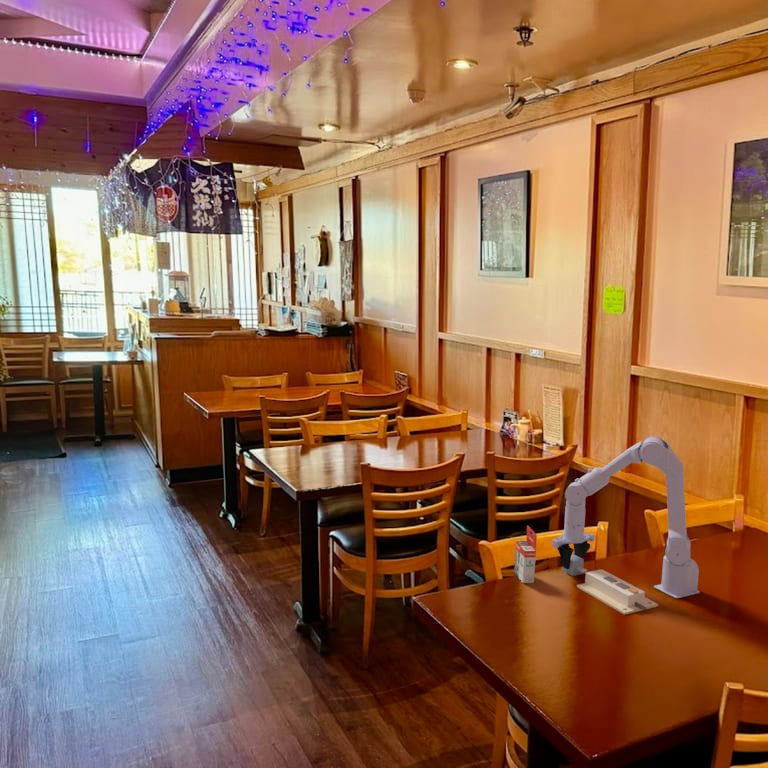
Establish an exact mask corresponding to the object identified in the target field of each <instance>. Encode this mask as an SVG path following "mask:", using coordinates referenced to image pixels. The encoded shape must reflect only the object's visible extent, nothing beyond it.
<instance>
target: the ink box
mask: <svg viewBox="0 0 768 768" xmlns="http://www.w3.org/2000/svg"><path fill="white" fill-rule="evenodd" d="M536 554H537V534H536V533H535V531H534V530H533V529H532V528H531V527H530V526H529V525H526V540H516V541H515V556H514V557H515V559H514V571H513V572H514V574H515V575H516V577H517V578H518V579H519V581H520V580H521V581H520V582H521V583H522V584H534V582H535V570H536V557H537V556H536Z"/></svg>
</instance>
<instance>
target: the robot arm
mask: <svg viewBox="0 0 768 768" xmlns="http://www.w3.org/2000/svg"><path fill="white" fill-rule="evenodd" d="M643 462H645V463H646V464H648V465H652V466H653V467H655V468H658V469H659V470H660V471H662V472H663V473H665V484H666V503H667V504H666V505H667V506H666V507H667V524H668V528H667V530H668V533H667V534H668V535H667V536H668V537H667V539H666V548H665V553H664V554H665V555H664V556H663V560H662V571H661V583H660V584H657V585H656V584H655V585H653V588H654V589H657V590H658V591H660V592H662V593H664V594H666V595H668V596H669V597H672V598H674V599H681V598H685V597H689V596H693V595H697V594H700V593H701V592H700V590H698V585H699V573H700V572H699V571H700V570H699V565H698V564H697V561H695V560H694V559H692V558H691V547H692V546H691V545H692V543H691V540H690V538H689V537H688V533H687V524H686V523H687V522H686V499H685V497H686V496H685V479H684V478H685V477H684V475H685V474H684V465H683V461H681V459H680V458H679V456H678V455H677V453H675V452H674V450H673V449H672V447H671V446H670V444H669V442H667V441H665V440H664V439H662V438H661V437H659V436H657V435H649V436H647V437H645V438H644V440H643V441H642V440H640V441H638V442H637V443H635V444H634V445H632V446H630V447H629V448H627V449H626V450H625V451H624V452H622V453H621V454H619V455H618V456H617V457H615V458H614V459H612V460H611V461H609V463H607V464H606V465H604V467H599V466H598V467H591V468H588V469H587V473H585V474H584V475H582V476H581V477H580V478H578V477H577V478H576V479H574V482H571V483H570V484H569V485H568V487H566V490H565V492H564V497H565V500H566V501H565V511H564V528H563V532H562V535H561V536H558V537H556V538H553V539H551V546H552V547H554V548H556V549H557V550H558V553H559V557H560V559H561V564H562V565H563V567H564V568H566V569H569V567H570V559H571V555H572V554H574V555H576V556H578V557H580V558H582V559H584V558H585V557H586V554H587V552H588V551H589V550H590V548H591V544H590V543H589V542H595V536H596V535H595V534H594V533H591V532H586V533H585V522H586V521H585V520H586V498H587V497H588V496H592V495H594V494H595V493H597V492H598V491H599V490H601V489H602V488H604V487H606V486H607V485H608V484H609V482H610V477H612V476H613V475H615V474H616V473H618V472H620V471H621V470H622V469H624V468H626V467H628V466H630V465H631V464H642V463H643ZM570 545H573V548H572V547H571V546H570ZM573 552H574V553H573ZM584 560H585V559H584Z"/></svg>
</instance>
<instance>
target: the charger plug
mask: <svg viewBox="0 0 768 768" xmlns="http://www.w3.org/2000/svg"><path fill="white" fill-rule="evenodd" d="M584 561H585V559H582V558H580V557H578V556H576V555H574V553H572V555H571V559H570V567H569V569H566V568H564V567H563V565H562V568H561V570H562V572H565V573H566V574H568V575H570V576H571V577H575V576H579V575H584V574H586V572H588V569H586V568H584V563H585V562H584Z"/></svg>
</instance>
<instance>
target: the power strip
mask: <svg viewBox="0 0 768 768" xmlns="http://www.w3.org/2000/svg"><path fill="white" fill-rule="evenodd" d="M584 578H585V579H584V583H579V584H577V585H576V588H578V589H579V590H581V591H583V592H584V593H587V594H588V595H590V596H592V597H593V598H595V599H596V600H598V601H600V602H602V603H604V604H605V605H606V606H608V607H610V608H612V609H614V610H615V611H616V612H618V613H620V614H622V615H629V614H634V613H637V612H642V611H646V610H650V609H654V608H656V607H657V608H658V607H659V604H658V603H657V602H655V601H653V600H651V599H650V598H647V597H645V595H646V591H644V590H643V589H640V588H639V587H637V586H634V585H633V584H631V583H629V582H628V581H625V580H624V579H621V578H620V577H618V576H615V575H613V574H612V573H609V572H608V571H605V570H604V569H596V570H591V571H587V572H586V573H585V577H584Z"/></svg>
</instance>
